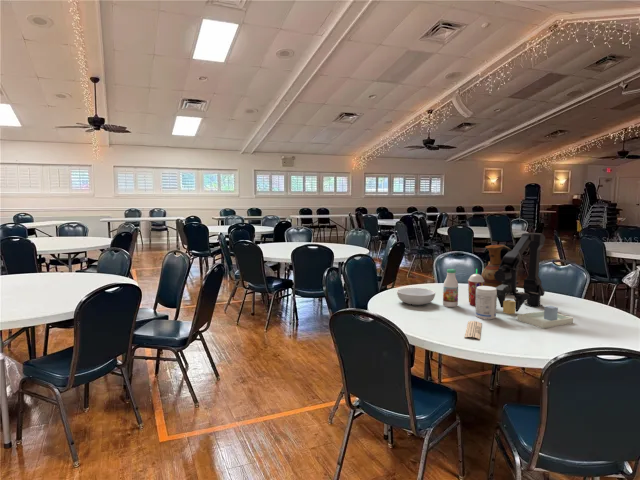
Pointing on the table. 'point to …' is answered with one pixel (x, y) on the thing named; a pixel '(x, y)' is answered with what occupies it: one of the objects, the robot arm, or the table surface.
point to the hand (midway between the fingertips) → (509, 309)
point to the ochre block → (509, 306)
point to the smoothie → (474, 286)
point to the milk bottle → (450, 289)
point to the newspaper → (473, 329)
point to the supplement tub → (486, 302)
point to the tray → (539, 320)
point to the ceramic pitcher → (493, 265)
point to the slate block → (550, 313)
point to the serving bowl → (416, 295)
